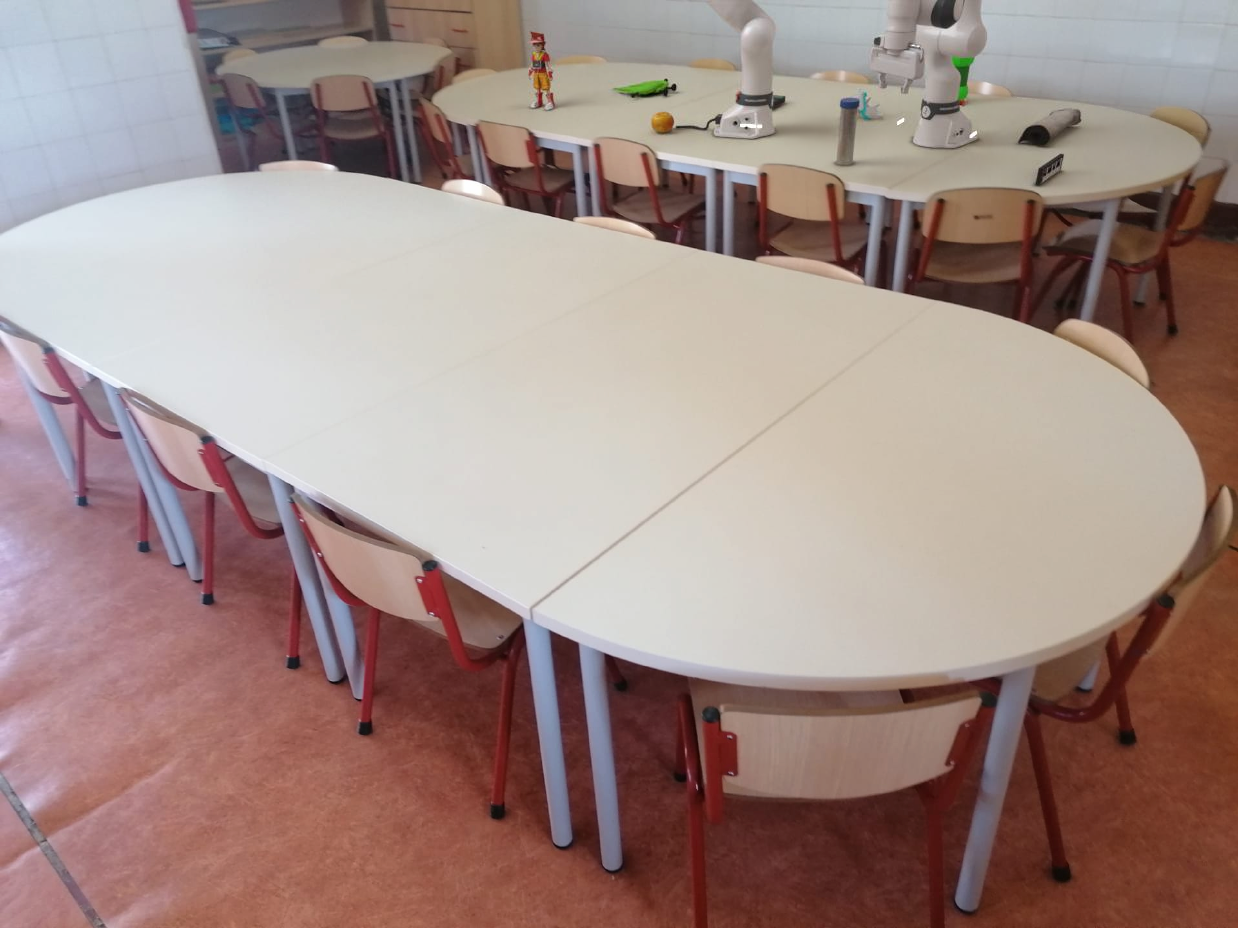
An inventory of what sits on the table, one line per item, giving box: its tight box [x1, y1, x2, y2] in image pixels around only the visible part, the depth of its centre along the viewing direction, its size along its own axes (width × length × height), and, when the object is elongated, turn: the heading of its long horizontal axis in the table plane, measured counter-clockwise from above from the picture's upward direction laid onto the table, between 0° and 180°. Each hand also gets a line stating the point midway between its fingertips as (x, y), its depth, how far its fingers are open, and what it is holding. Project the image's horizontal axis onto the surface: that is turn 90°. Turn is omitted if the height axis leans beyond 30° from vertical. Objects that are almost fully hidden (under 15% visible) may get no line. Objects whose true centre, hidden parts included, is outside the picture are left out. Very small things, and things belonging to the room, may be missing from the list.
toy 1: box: [527, 31, 556, 111], centre depth 374 cm, size 12×9×30 cm
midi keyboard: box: [1035, 153, 1065, 186], centre depth 273 cm, size 18×1×5 cm, turn 138°
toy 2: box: [612, 78, 677, 99], centre depth 396 cm, size 28×5×30 cm
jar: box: [836, 107, 859, 166], centre depth 292 cm, size 5×5×20 cm
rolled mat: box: [1017, 107, 1082, 147], centre depth 310 cm, size 30×9×10 cm
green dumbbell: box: [951, 56, 976, 100], centre depth 348 cm, size 10×10×25 cm
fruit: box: [650, 111, 675, 133], centre depth 339 cm, size 8×8×8 cm
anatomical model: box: [850, 88, 885, 120], centre depth 343 cm, size 15×10×10 cm
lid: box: [839, 97, 860, 109], centre depth 287 cm, size 6×6×2 cm
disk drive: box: [772, 94, 786, 110], centre depth 364 cm, size 10×3×15 cm
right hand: (893, 91), depth 272 cm, fingers open, 8 cm apart
